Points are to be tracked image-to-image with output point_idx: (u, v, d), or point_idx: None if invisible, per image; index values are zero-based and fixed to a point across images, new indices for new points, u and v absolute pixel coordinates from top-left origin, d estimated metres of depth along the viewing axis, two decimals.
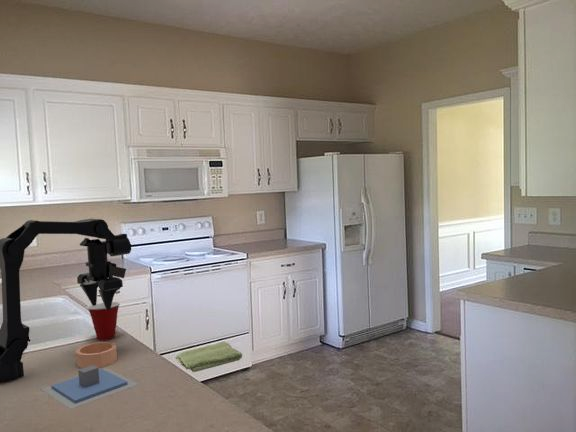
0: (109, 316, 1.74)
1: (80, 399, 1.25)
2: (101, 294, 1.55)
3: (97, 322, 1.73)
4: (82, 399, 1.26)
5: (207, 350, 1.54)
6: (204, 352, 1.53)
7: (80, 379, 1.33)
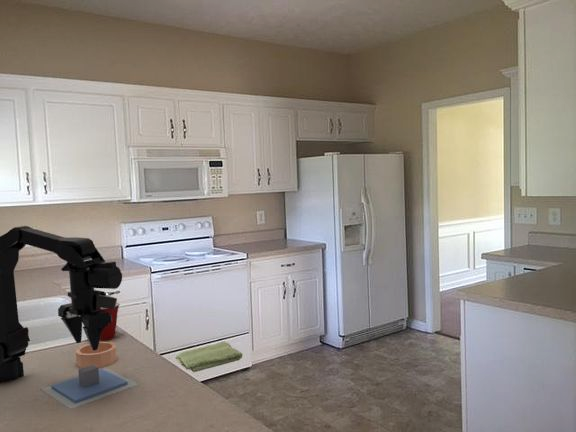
0: None
1: (80, 399, 1.25)
2: (86, 332, 1.27)
3: None
4: (82, 399, 1.26)
5: (207, 350, 1.54)
6: (204, 352, 1.53)
7: (80, 379, 1.33)
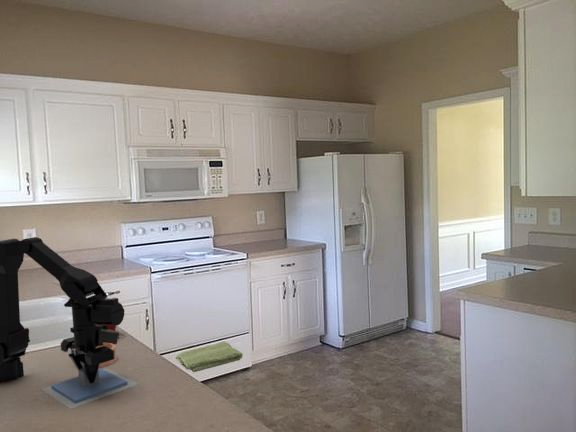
0: None
1: (80, 399, 1.25)
2: (83, 366, 1.30)
3: None
4: (82, 399, 1.26)
5: (207, 350, 1.54)
6: (204, 352, 1.53)
7: (80, 379, 1.33)
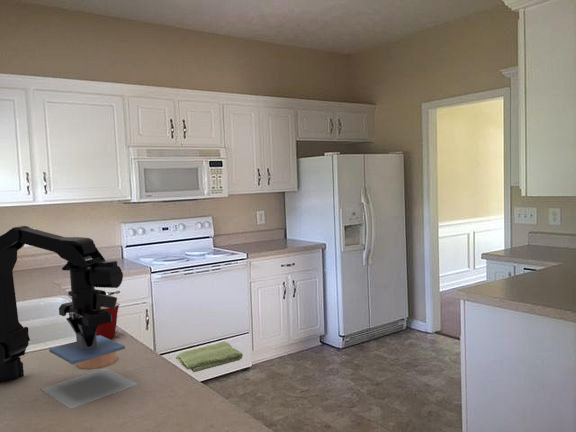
0: None
1: (77, 360, 1.26)
2: (81, 328, 1.30)
3: None
4: (79, 360, 1.26)
5: (207, 350, 1.54)
6: (204, 352, 1.53)
7: (78, 342, 1.34)
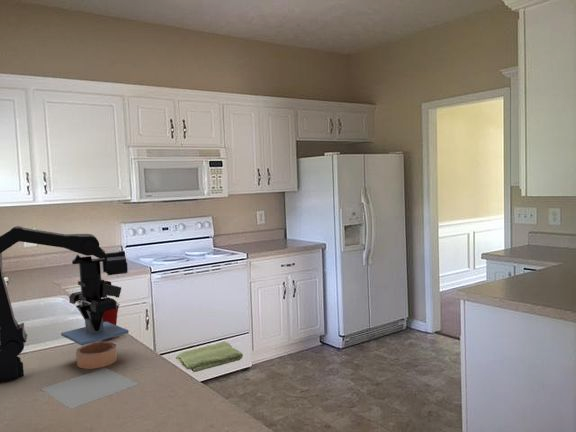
0: (109, 316, 1.74)
1: (86, 342, 1.42)
2: (89, 314, 1.46)
3: None
4: (88, 342, 1.42)
5: (207, 350, 1.54)
6: (204, 352, 1.53)
7: (86, 327, 1.50)
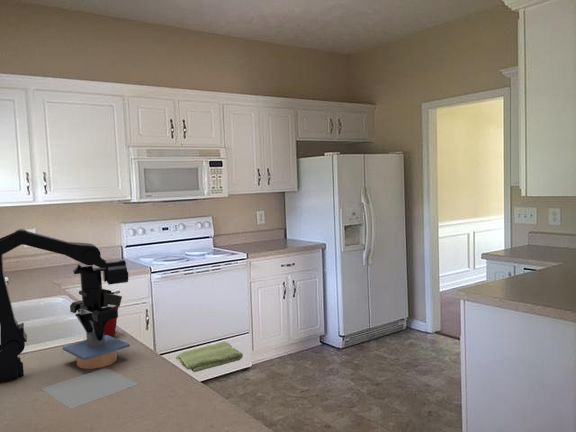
0: None
1: (88, 357, 1.43)
2: (92, 324, 1.47)
3: None
4: (90, 357, 1.44)
5: (207, 350, 1.54)
6: (204, 352, 1.53)
7: (88, 341, 1.51)
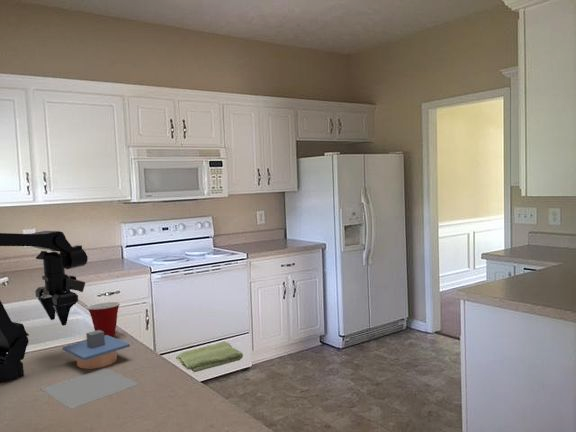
0: (109, 316, 1.74)
1: (88, 357, 1.43)
2: (55, 309, 1.50)
3: (97, 322, 1.73)
4: (90, 357, 1.44)
5: (208, 350, 1.54)
6: (205, 352, 1.53)
7: (88, 341, 1.51)
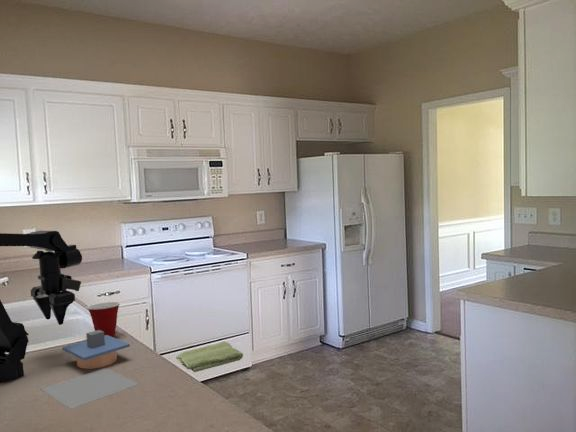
0: (109, 316, 1.74)
1: (88, 357, 1.43)
2: (52, 308, 1.50)
3: (97, 322, 1.73)
4: (90, 357, 1.44)
5: (208, 350, 1.54)
6: (205, 352, 1.53)
7: (88, 341, 1.51)
